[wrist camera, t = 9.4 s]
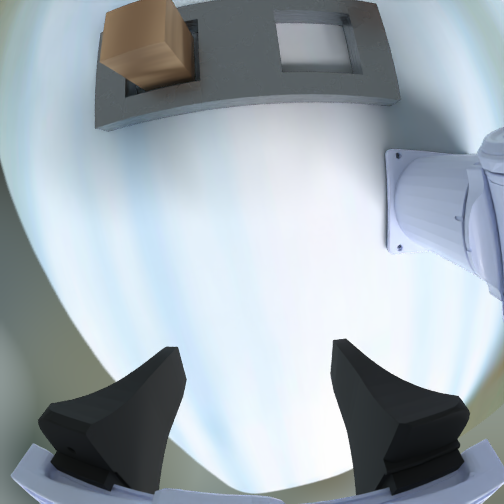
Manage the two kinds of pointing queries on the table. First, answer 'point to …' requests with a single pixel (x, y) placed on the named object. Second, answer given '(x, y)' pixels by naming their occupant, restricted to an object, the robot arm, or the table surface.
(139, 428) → the robot arm
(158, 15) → the walnut peg
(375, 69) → the grey slotted board
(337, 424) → the table surface
